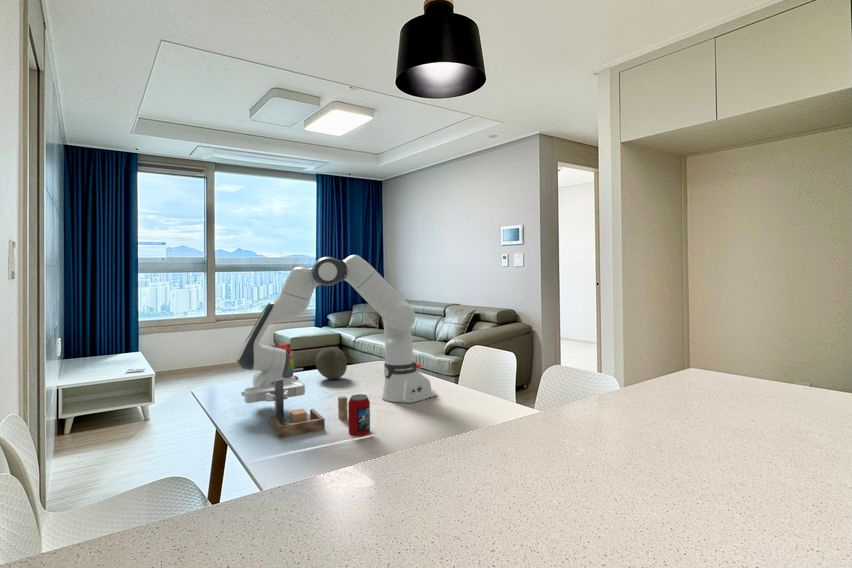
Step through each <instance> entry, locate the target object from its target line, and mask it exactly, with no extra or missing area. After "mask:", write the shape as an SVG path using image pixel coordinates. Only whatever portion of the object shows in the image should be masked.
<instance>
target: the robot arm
mask: <svg viewBox="0 0 852 568" xmlns="http://www.w3.org/2000/svg"><path fill="white" fill-rule="evenodd" d="M342 281H345V282H347V283H348V284H349V285H350V286H351V287H352V288H353V289H354V290H355V291H356V293H358V294H359V295H360V296H361V297H362V299H364V301H366V302H367V303H368V305H369V306H370V307H371V308H373V309H374V310H375V312H377V314H379V316H380V317H381V318H382V319H383V333H384V335H383V336H384V346H385V347H384V349H385V358H384V360H385V362H384V363H383V364H384V367H383V369H384V370H383V371H384V372H383V373H384V385H383V392H382V395H381V399H383V400H384V401H387V402H394V403H403V404H404V403H406V404H413V403H415V402H419V401H422V400H427V399H430V398H429V397H431V398H434V397H433V396H435V397H437V396H438V393H437V391H436V390H434V389H432V384H431V382H430V379H429V378H428V377H426V376H425V375H423V374H422V373H421V372H419V371H418V369H419V370H420V369H422V364H421V363H419V362H415V361H414V357H413V356H414V353H413V352H414V351H413V350H414V348H413V345H414V343H413V337H412V329H411V327H412V326H413V325H414V323H415V322H416V312H415V310H414V309H415V308H414V307H413V306H412V305H411V304H410V303H409V302H408V301H406V299H405V298H404V297H403V296H402V295H401V294H399V292H398V291H397V290H396V289H394V287H392V286H391V285H390V283H388V282H387V281H386V280H385V278H384V277H383V276H382V275H381V274H380V273H379V272H378V271H377V270H376V269H375V268H374V267H373V266H372V265H371V264H370V263H368V261H366V260H365V259H364V258H362V257H361V256H360V255H358V254H352V255H349V256H347V257H346V258H345V259H343V260H341V259H337V258H335V257H331V256H324V257H321V258H319V259H317V260H316V261H315V263H314V264H313V265H312V266H311V267H305V266H296V267H294V268H292V269H291V271H290V272H289V274H288V276H287V278H286V279H285V281H284V284H283V285H282V286H283V287H282V288H281V292H280V294H279V296H278V297H277V298H276V299H275V300H274V301H272V302H268V303H267V305H266V306H265V307H264V308H263V310H262V311H261V313H260V315H259V317H258V318H257V320H256V322H255V324H254V325H253V327H252V329H251V331H250V333H249V334H248V335H247V336H248V337H246V339H245V341H244V342H243V343H242V345H241V347H240V348H239V350H238V352H237V355H236V362H237V364H238V366H240V368H241V369H243V370H247V371H248V370H249V371H256V372H255V373H254V374H253V376H252V386H253V387H248V388H245V389H244V391H241V393H240V394H241V396H242V397H244V402H245V403H246V404H252V403H258V402H275V401H276V395H275V392H274V379H280V378H282V379H283V397H284V400H288V398H292V397H299V396H304V395H306V394H305V393H306V386H305V384H304V383H303V382H302V381H300V380H299V379H298V380H296V379H295V377H285V375H286V374H287V371H288V368H289V364H290V359H289V356H288V353H287V352H286V350H283V349H279V348H276V346H275V347H274V346H270V345H264V344H261V343H260V342H261V340H262V337H263V336H264V334H265V333H266V332H267V331H266V330H267V329H268V328H269V326H270V325H271V324H272V323H274V322H277V321H280V320H289V319H294V318H298V317H300V316H302V315H303V314H304V313H305V312H306V311H307V309H308V307H309V304H310V301H311V298H312V296H313V293H314V291H315V289H316V288H317V287H318V286H321V285H322V286H326V287H327V286H329V287H330V286H333V285H336V284H337V283H339V282H342ZM426 398H427V399H426Z"/></svg>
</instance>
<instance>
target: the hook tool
mask: <svg viewBox="0 0 852 568" xmlns="http://www.w3.org/2000/svg"><path fill="white" fill-rule="evenodd" d="M274 392H275V395H276V401H274V416H275V417H276V418H277V419H278V421H279V422H280V423H281V425H286V424H292V423H289V422H288V421H287V420H286V418H285V411H284V409H285V407H284V402H285V401H284V400H285V399H284V397H283V379H282V378H280V379H274ZM306 421H308V420H306ZM301 422H303V421H301ZM295 423H297V422H295Z"/></svg>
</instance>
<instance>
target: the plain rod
mask: <svg viewBox="0 0 852 568" xmlns="http://www.w3.org/2000/svg"><path fill="white" fill-rule="evenodd" d="M337 400H338V401H337V403H338V404H337V408H338V413H337V414H338V419H339V420H341V421H344V420H348V397H347V396H345V395H343V396H338V397H337Z"/></svg>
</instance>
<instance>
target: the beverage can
mask: <svg viewBox="0 0 852 568" xmlns="http://www.w3.org/2000/svg"><path fill="white" fill-rule="evenodd" d="M370 403H371V402H370V399H369V398H368V395H367V394H362V393H361V394H353V395H351V396H350V398H349V399H348V401H347V416H348V419H347V420H348V433H349V435H351V436H356V437H359V438H361V437H363V436H366V435H368V434H369V433H370V432H371V407H370V406H371V404H370Z"/></svg>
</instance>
